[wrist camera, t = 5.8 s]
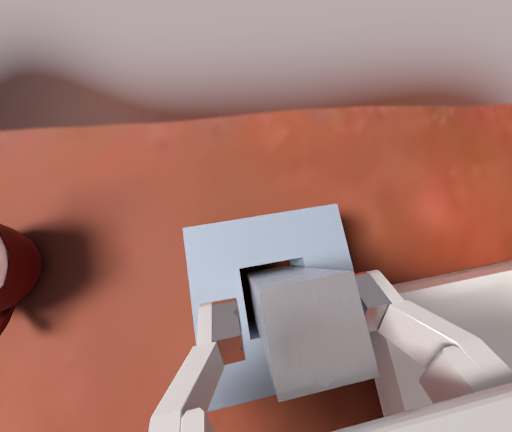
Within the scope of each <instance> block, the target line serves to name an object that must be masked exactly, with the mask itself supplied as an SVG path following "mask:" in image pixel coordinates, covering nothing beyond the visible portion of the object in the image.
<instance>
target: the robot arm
mask: <svg viewBox="0 0 512 432" xmlns="http://www.w3.org/2000/svg"><path fill="white" fill-rule="evenodd" d="M354 275H355V279H356V283H357V287H358V291H359V295H360V299H361V303H362V307H363V311H364V315H365V319H366V323H367V327H368V331H369V332H372V331H377V330H378V332H379V333H380V334H382V335H383V336H384V337H386V338H387V339H388V340H389V341H391V342H392V343H393V344H394V345H396V346H397V347H398V348H400V349H401V350H402V351H403V352H405V353H406V354H407V355H409V356H410V357H411V358H412V359H414V360H415V361H416V362H417V363H419V364H420V365H421V366H423V367H424V368H425V369H426V370H425V372H424V373H423V374H422V375H421V377H420V379H419V383H420V384H421V386H422V387H423V389H424V390H425V392H426V393H427V395H428V396H429V398H430V399H431V401H432V403H433V404H430V405H427V406H423V407H419V408H416V409H412V410H408V411H405V412H401V413H398V414H394V415H390V416H387V417H383V418H379V419H376V420H372V421H368V422H365V423H361V424H357V425H354V426H350V427H346V428H343V429H339V430H335V431H332V432H512V370H511V369H510V368H509V367H508V366H507V365H506V364H505V363H504V362H503V361H502V360H501V359H500V358H499V357H498V356H497V355H496V354H495V353H494V352H493V351H492V350H491V349H490V348H489V347H488V346H487V345H486V344H485V343H484V342H483V341H482V340H481V339H480V338H479V337H477V336H475V335H473V334H471V333H469V332H467V331H465V330H464V329H462V328H460V327H458V326H456V325H454V324H452V323H450V322H449V321H447V320H445V319H443V318H441V317H439V316H437V315H435V314H434V313H432V312H430V311H428V310H426V309H424V308H422V307H420V306H418V305H417V304H415V303H413V302H411V301H409V300H406V301H405V300H404V299H403V298H402V297H401V295H400V294H399V293H398V292H397V291H396V290H395V288H394V287H393V286H392V285H391V284H390V282H389V281H388V280H387V279H386V278H385V277H384V275H383V274H382V273H381V272H380V271H378V270H372V271H367V272H360V273H356V274H354ZM243 360H246V359H245V351H244V343H243V338H242V328H241V321H240V314H239V309H238V304H237V299H236V298H231V299H225V300H220V301H214V302H208V303H203V304H200V305H199V309H198V335H197V346H193V348H192V349H191V351H190V353H189V354H188V356H187V358H186V359H185V361H184V363H183V364H182V366H181V368H180V369H179V371H178V373H177V375H176V376H175V378H174V380H173V381H172V383H171V385H170V386H169V388H168V390H167V391H166V393H165V395H164V396H163V398H162V400H161V401H160V403H159V405H158V406H157V408H156V410H155V411H154V413H153V415H152V416H151V419H150V425H149V431H148V432H216V431H215V430H214V428H213V426H212V424H211V423H210V421H209V419H208V417H207V416H206V413H207V410H208V407H209V405H210V402H211V400H212V397H213V395H214V392H215V390H216V387H217V385H218V382H219V380H220V377H221V375H222V372H223V370H224V367H225V366H224V365H227V364H231V363H235V362H239V361H243Z"/></svg>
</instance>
